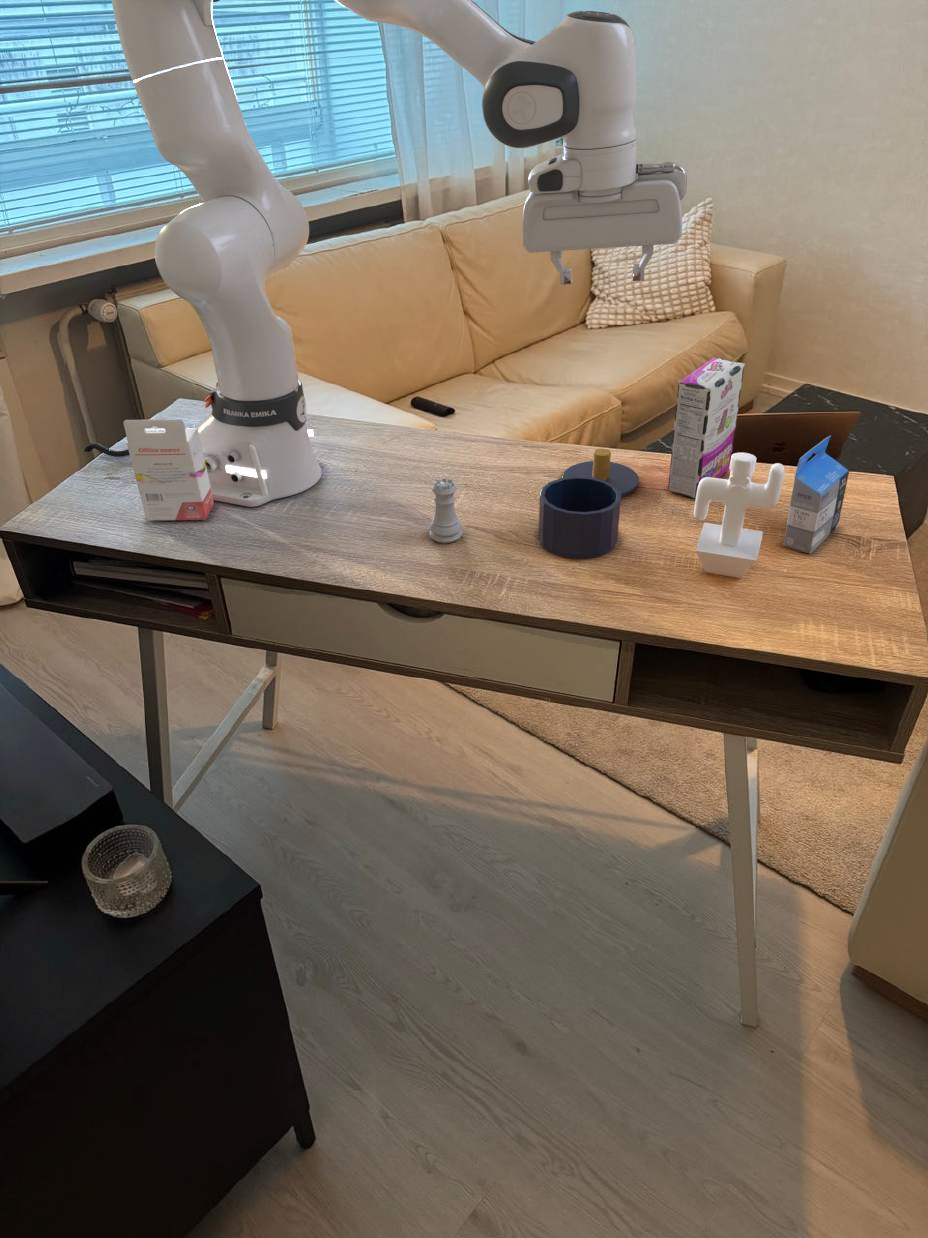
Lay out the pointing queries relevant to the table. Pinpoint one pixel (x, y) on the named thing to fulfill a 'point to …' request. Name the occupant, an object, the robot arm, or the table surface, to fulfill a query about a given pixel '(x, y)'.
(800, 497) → the label tape box
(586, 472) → the tin lid
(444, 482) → the rook chess piece
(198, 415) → the table surface
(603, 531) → the tin
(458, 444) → the table surface
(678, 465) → the candy bar box
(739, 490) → the figurine
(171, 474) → the ink cartridge box
